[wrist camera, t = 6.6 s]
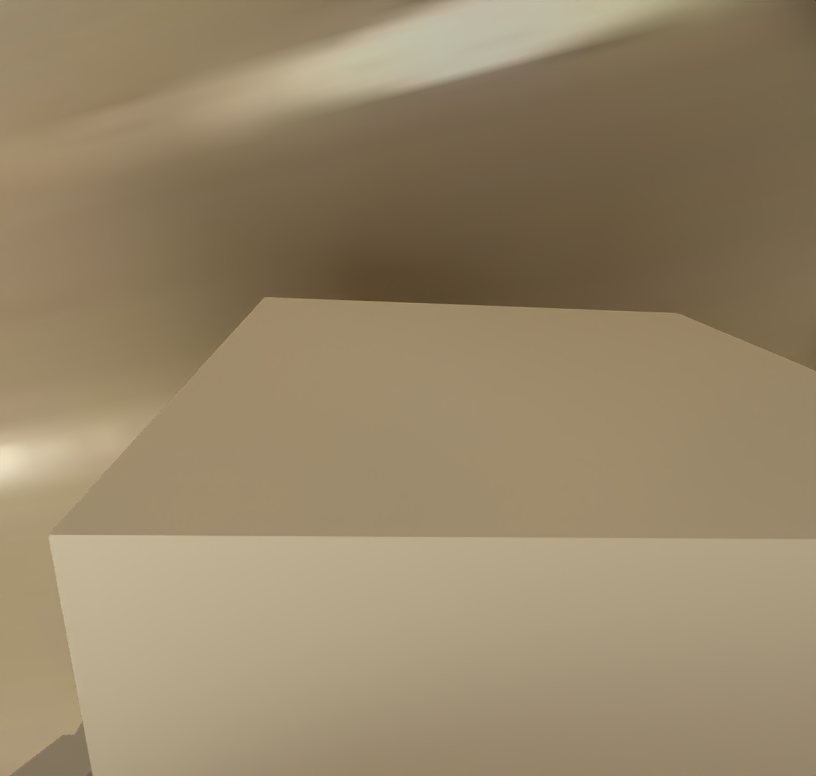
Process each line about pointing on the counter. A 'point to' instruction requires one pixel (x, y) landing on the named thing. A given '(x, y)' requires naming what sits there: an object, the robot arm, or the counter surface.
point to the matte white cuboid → (455, 552)
